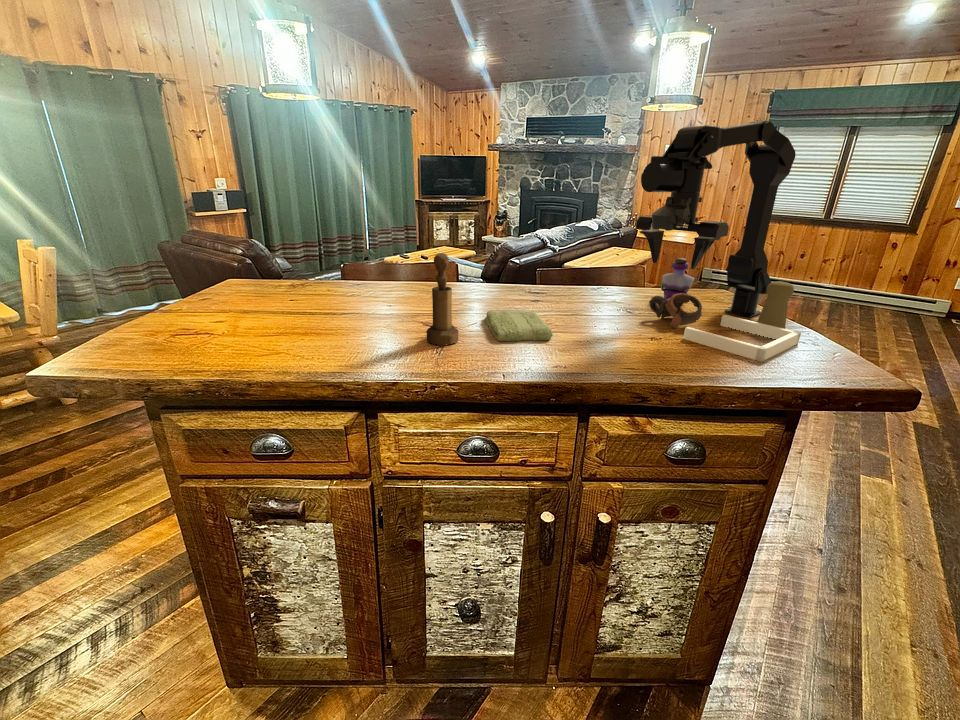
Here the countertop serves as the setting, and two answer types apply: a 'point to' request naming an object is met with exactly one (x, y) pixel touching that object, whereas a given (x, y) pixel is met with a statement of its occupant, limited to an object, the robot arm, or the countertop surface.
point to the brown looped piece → (676, 308)
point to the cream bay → (759, 353)
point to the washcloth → (517, 326)
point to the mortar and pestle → (442, 307)
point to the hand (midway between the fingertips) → (673, 265)
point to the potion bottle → (676, 279)
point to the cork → (776, 304)
